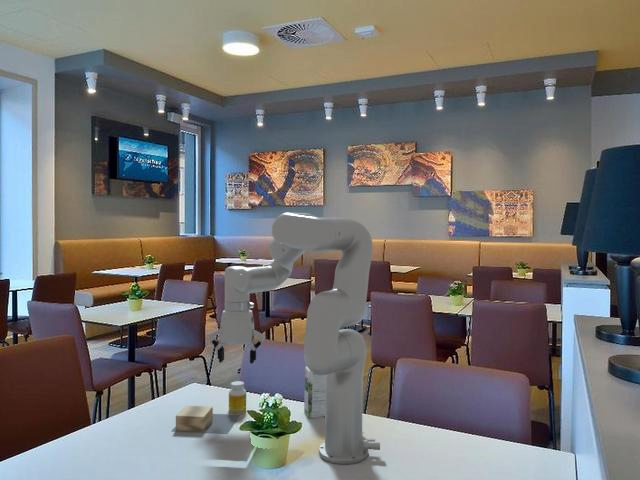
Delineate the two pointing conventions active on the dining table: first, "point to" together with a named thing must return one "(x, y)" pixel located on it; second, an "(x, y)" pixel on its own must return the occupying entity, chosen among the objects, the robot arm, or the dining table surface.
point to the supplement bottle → (237, 397)
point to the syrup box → (314, 394)
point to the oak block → (194, 418)
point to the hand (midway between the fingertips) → (236, 361)
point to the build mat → (217, 424)
